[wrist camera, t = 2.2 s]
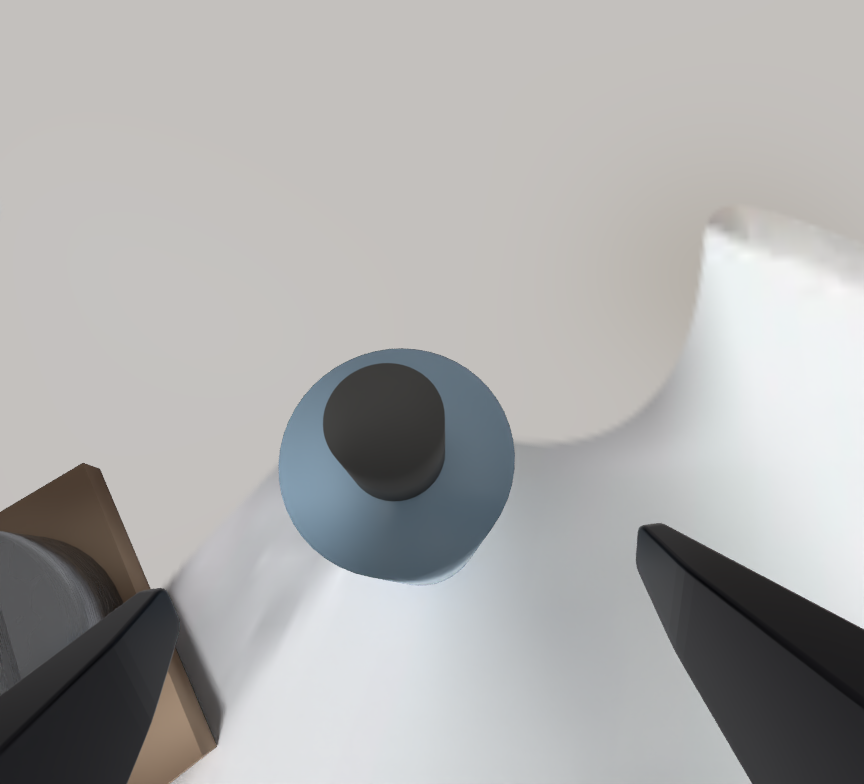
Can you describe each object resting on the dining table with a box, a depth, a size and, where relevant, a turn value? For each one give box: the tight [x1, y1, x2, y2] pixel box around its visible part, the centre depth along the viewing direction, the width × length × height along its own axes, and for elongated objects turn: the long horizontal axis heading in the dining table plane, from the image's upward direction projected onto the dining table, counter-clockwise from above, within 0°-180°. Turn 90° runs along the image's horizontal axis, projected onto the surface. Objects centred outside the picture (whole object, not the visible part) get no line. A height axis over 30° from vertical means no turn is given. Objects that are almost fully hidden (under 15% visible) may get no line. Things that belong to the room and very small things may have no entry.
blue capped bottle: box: [279, 349, 515, 585], centre depth 13 cm, size 5×5×12 cm
